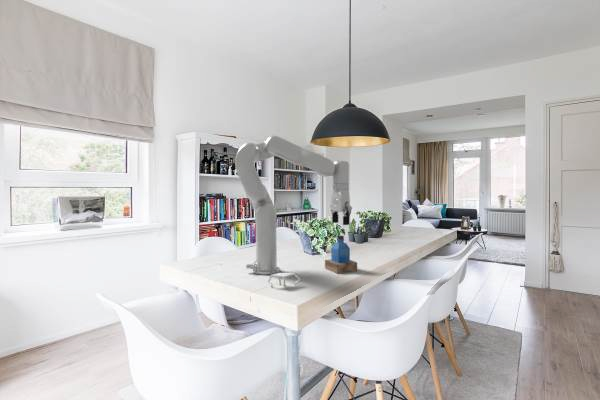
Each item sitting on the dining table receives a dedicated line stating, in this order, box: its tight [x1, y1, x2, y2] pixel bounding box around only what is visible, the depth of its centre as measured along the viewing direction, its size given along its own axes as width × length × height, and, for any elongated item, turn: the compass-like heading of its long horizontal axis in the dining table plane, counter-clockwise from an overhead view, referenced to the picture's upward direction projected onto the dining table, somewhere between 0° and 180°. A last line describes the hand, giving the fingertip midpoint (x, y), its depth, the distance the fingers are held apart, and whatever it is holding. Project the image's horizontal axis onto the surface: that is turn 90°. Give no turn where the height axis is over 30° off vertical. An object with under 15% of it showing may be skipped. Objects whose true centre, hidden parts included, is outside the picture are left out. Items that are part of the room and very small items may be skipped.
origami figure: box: [267, 272, 301, 290], centre depth 131 cm, size 12×8×5 cm
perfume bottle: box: [331, 235, 351, 263], centre depth 157 cm, size 6×6×12 cm
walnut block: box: [324, 258, 358, 274], centre depth 157 cm, size 11×11×4 cm
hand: (340, 223), depth 157 cm, fingers open, 9 cm apart
